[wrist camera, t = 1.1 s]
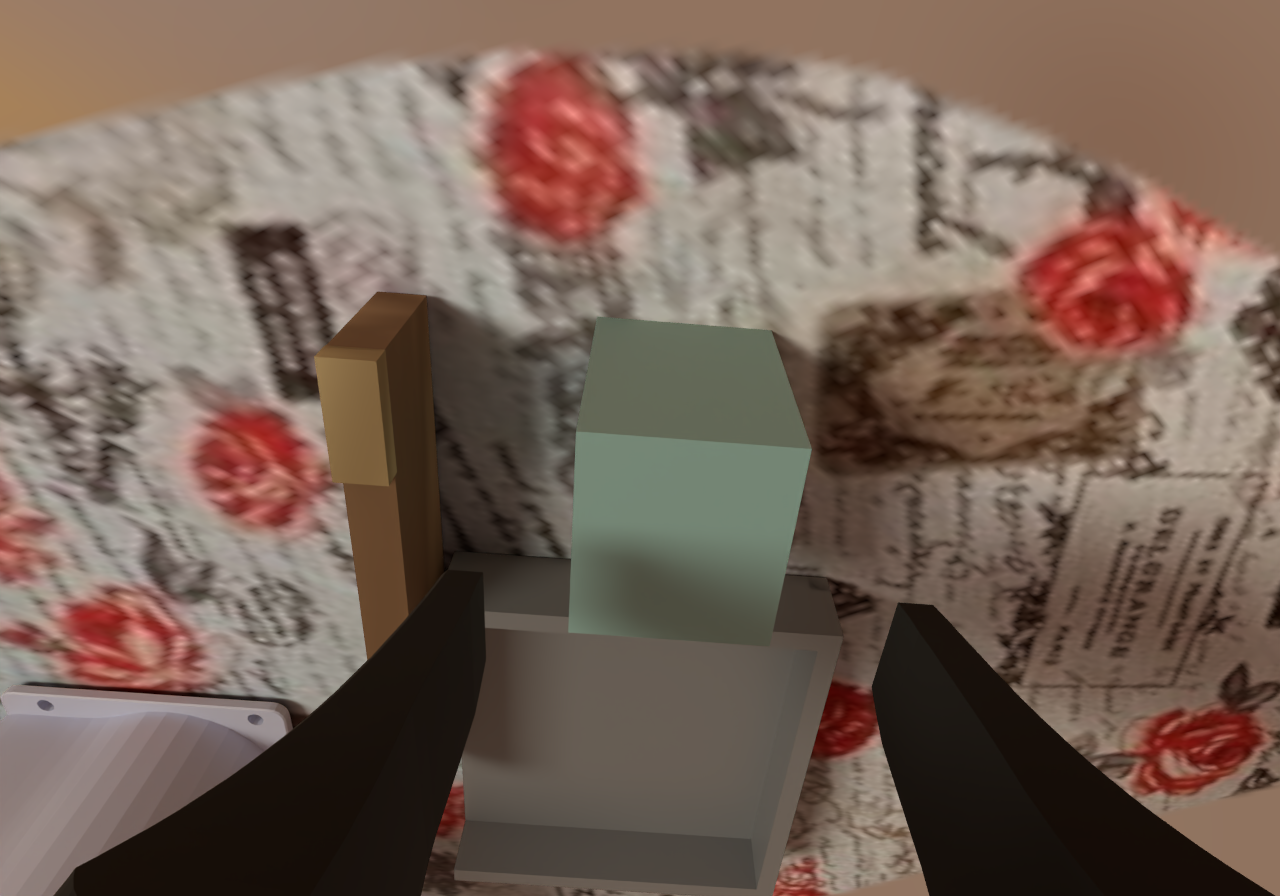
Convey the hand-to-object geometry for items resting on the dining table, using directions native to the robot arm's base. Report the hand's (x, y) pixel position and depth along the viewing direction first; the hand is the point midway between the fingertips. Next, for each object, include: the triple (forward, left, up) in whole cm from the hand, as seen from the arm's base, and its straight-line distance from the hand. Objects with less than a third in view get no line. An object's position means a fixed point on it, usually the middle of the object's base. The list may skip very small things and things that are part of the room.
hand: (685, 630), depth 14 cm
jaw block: (0, 0, -8) cm, 8 cm away
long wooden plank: (-7, -5, -8) cm, 12 cm away
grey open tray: (-1, -12, -8) cm, 14 cm away
